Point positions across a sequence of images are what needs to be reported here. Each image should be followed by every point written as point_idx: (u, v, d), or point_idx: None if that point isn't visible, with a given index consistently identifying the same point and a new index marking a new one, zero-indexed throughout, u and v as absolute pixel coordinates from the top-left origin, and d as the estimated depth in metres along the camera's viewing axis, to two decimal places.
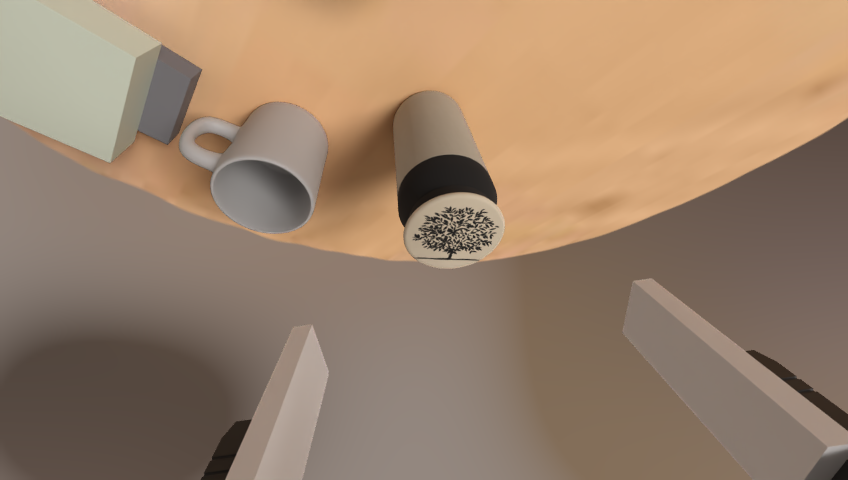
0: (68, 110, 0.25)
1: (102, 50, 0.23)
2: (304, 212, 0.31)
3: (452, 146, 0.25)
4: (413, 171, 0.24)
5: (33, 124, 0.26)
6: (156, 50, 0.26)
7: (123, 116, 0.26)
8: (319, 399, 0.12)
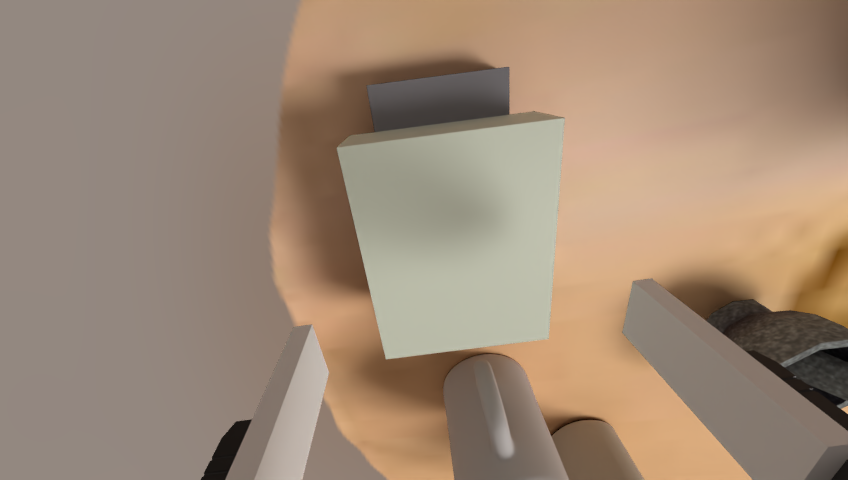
0: (434, 315, 0.20)
1: (536, 319, 0.21)
2: None
3: None
4: None
5: (382, 297, 0.19)
6: None
7: (463, 346, 0.22)
8: (319, 399, 0.12)
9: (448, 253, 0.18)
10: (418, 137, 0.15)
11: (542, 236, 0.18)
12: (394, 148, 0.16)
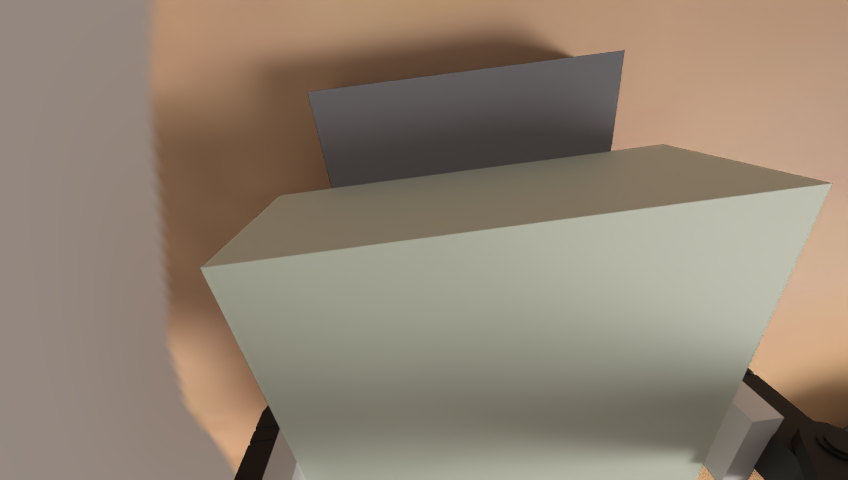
0: None
1: None
2: None
3: None
4: None
5: None
6: None
7: None
8: None
9: (490, 455, 0.08)
10: (429, 237, 0.06)
11: (695, 419, 0.08)
12: (362, 264, 0.06)
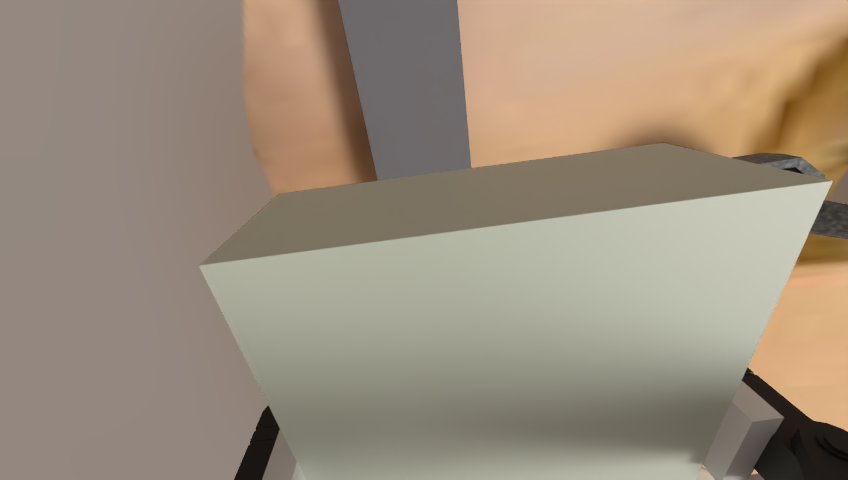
0: None
1: None
2: None
3: None
4: None
5: None
6: None
7: None
8: None
9: (490, 454, 0.08)
10: (428, 234, 0.06)
11: (695, 418, 0.08)
12: (362, 262, 0.06)
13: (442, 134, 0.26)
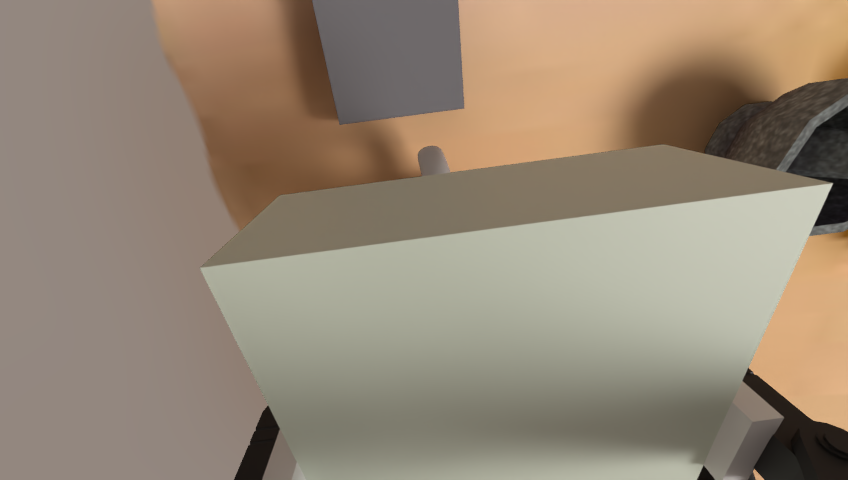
0: None
1: None
2: None
3: None
4: None
5: None
6: None
7: None
8: None
9: (491, 455, 0.08)
10: (429, 237, 0.06)
11: (695, 419, 0.08)
12: (362, 264, 0.06)
13: (424, 32, 0.19)
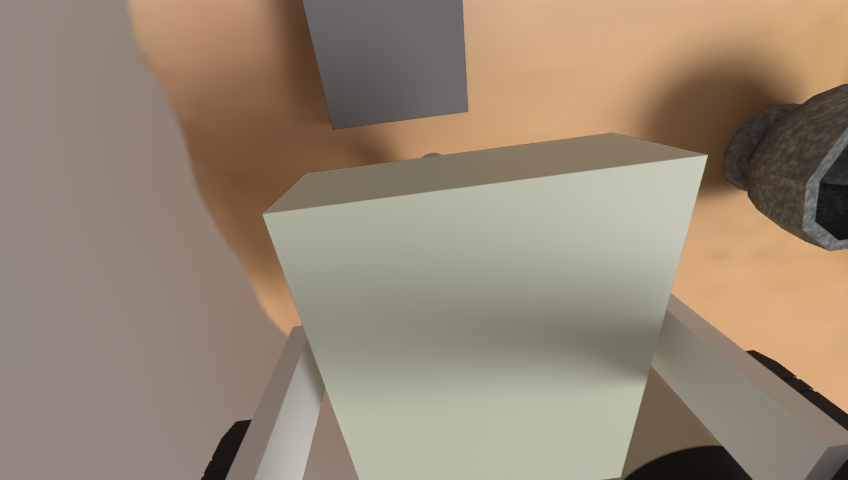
0: (446, 457, 0.13)
1: (606, 455, 0.13)
2: None
3: None
4: (719, 458, 0.16)
5: (362, 438, 0.12)
6: None
7: None
8: (319, 399, 0.12)
9: (473, 375, 0.11)
10: (423, 193, 0.08)
11: (632, 346, 0.11)
12: (376, 213, 0.08)
13: (424, 28, 0.17)
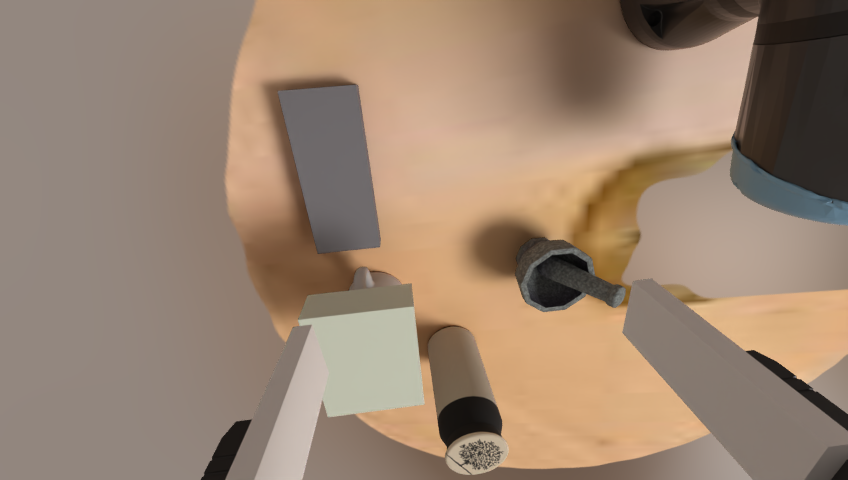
0: (355, 393, 0.35)
1: (415, 394, 0.36)
2: None
3: (491, 394, 0.42)
4: (473, 400, 0.39)
5: None
6: None
7: (375, 408, 0.37)
8: (319, 399, 0.12)
9: (360, 363, 0.33)
10: (340, 314, 0.31)
11: (411, 355, 0.33)
12: (327, 319, 0.31)
13: (358, 217, 0.40)
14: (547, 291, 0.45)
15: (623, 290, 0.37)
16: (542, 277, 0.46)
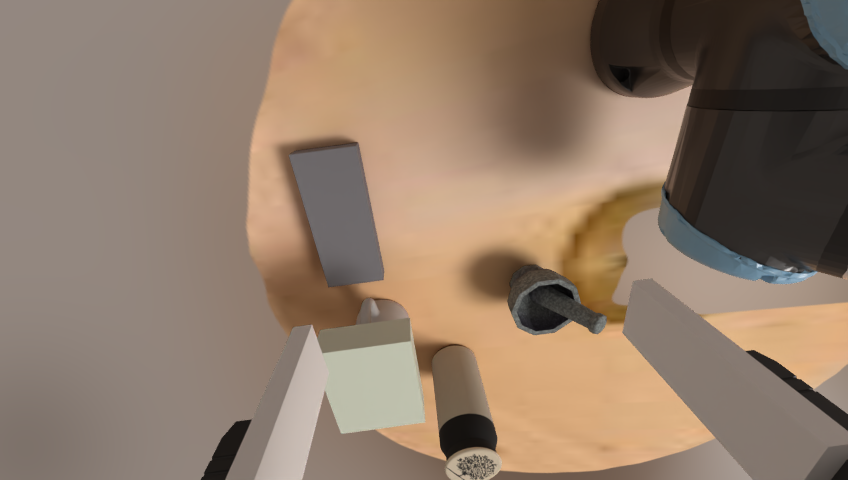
0: (363, 414, 0.40)
1: (416, 414, 0.41)
2: None
3: (487, 411, 0.46)
4: (470, 417, 0.44)
5: (337, 407, 0.39)
6: None
7: (381, 426, 0.42)
8: (319, 399, 0.12)
9: (367, 389, 0.38)
10: (347, 349, 0.36)
11: (410, 381, 0.38)
12: (337, 353, 0.36)
13: (363, 255, 0.44)
14: (538, 314, 0.49)
15: (603, 319, 0.41)
16: (534, 301, 0.50)
